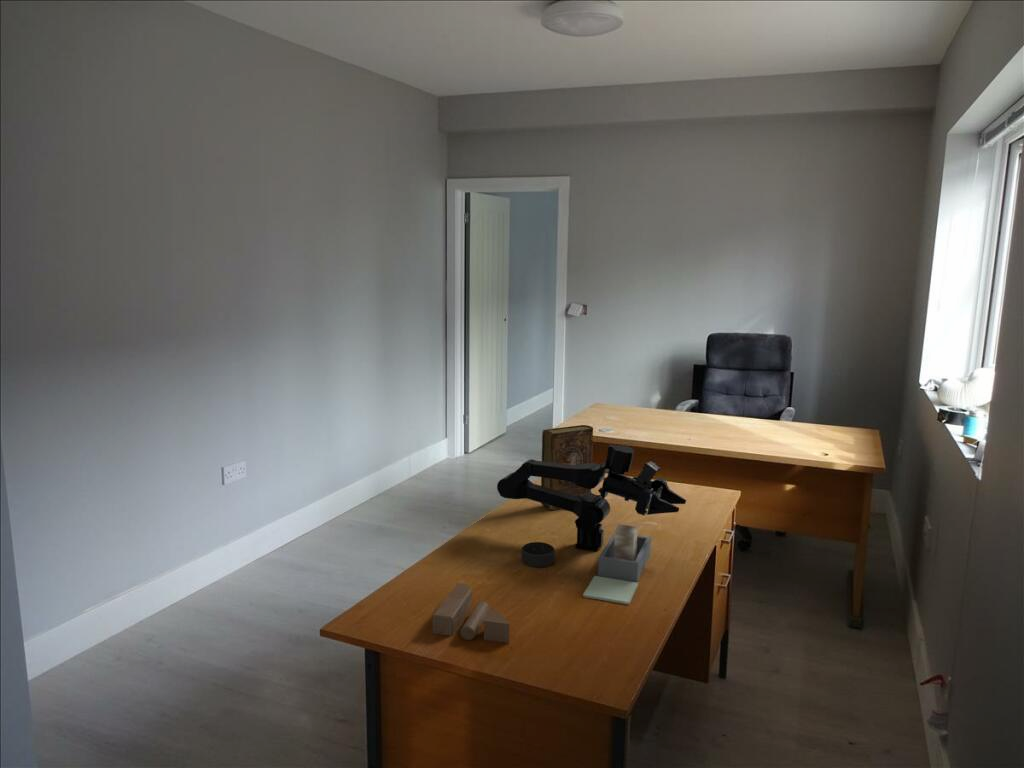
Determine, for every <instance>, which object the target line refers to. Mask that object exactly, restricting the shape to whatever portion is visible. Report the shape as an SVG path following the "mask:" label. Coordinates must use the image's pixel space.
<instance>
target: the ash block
mask: <svg viewBox="0 0 1024 768" xmlns="http://www.w3.org/2000/svg"><path fill="white" fill-rule="evenodd" d="M638 528H639V526H632V525H628V524H618V525H617V526H616V528H615V530H614V532H615V537H614V557H613V558H617V559H623V560H630V561H634V560H635V558H637V556H638V555H637V536H639V535H638V531H639V529H638Z"/></svg>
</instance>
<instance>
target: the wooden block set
mask: <svg viewBox="0 0 1024 768" xmlns="http://www.w3.org/2000/svg"><path fill="white" fill-rule="evenodd" d="M472 591H473V590H472V587H470V586H468V584H466V583H462V582H457V584H456V585H455V587H454V588H453V589H452V590H451V592H450V593H449V595H448V596H447V597H445V598H444V599H443V600H442V602H441V604H440V605H439V606H438V608H437V609H436V611H435V612H434V613H433V615H432V634H435V635H440V636H441V635H444V636H451V637H452V636H454V635H455V633H456V632H457V630H458V628H459V627H460V625H461V624H462V622H463V620H465V617H466V613H467V611H469V609H470V608H471V606H472V604H473V597H472V596H473V593H472ZM482 624H483V640H484V641H491V642H498V643H505V644H510V623H509V622H508V621H507V619H505V617H504V616H503V615H502V614H501V613H500V612H499V611H498V610H497V609H491V610H490V606H489V604H488V603H487V602H486V601H482V600H481V601H479V602H477V603H476V604H475V606H474V608H473V609H472V611H471V613H470V614H469V615H468V617H467V619H466V620H465V622H464V624H463V625H462V627H461V628H460V630H459V631H460V636H461V637H462V639H463V640H466V641H471V640H473V639H475V637H476V635H477V633H478V632H479V630H480V628H481V627H482Z"/></svg>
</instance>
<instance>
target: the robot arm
mask: <svg viewBox="0 0 1024 768" xmlns="http://www.w3.org/2000/svg"><path fill="white" fill-rule="evenodd" d="M634 453H635V450H634V448H632V447H630V446H627V445H614V444H609V446H607V455H606V460H605V462H603V463H602V462H601V463H600V464H599V463H597V462H592V463H586V464H579V465H566V464H558V463H551V462H543V461H542V460H535V459H532V458H531V459H528V460H526V461H524V462H523V463H522V464H521V466H520V467H519V468H517V469H516V470H515V471H514V472H511V473H509V474H507V475H506V476H505V477H503V478H501V479H499V481H498V482H497V485H496V486H497V487H496V488H497V492H498V494H499V496H500V497H502V498H503V499H509V500H525V499H526V500H531V501H534V502H537V503H540V504H541V503H543V504H547V505H550V506H553V507H557V508H560V509H559V510H564V511H567V512H571V513H572V514H574V515H576V516H577V519H575V520H574V524H575V526H576V531H577V532H576V544H575V545H574V548H576V549H581V550H587V551H593V552H598V551H599V549H600V548H601V547H602V546H603V545H604V537H605V536H604V534H605V533H604V529H602V527H603V524H602V522H603V521H604V520H605V518H606V517H607V516H609V514H610V512H611V504H610V503H609V502H608V499H606V497H607V496H608V495H609V494H612V495H614V496H618V497H620V498H623V499H624V501H625V502H629V501H632V502H635V503H636V504H635V508H634V509H635V511H636V513H637V514H638V515H641V516H646V515H647V516H650V515H657V514H670V513H673V514H674V513H678V512H679V511H680V507H678V506H676V505H685V504H686V502H687V499H685V498H684V497H683V496H680V495H679V494H678V493H677V492H674V491H673V490H672V489H670V487H669V485H668V482H667V481H666V479H665V478H662V477H657V478H655V479H653V478H654V476H655V475H656V474H657V473H659V471H660V469H661V467H660V466H658V465H657V462H653V461H649V462H645V463H644V465H643V466H642V467H641V468H642V470H641V471H640V473H639V474H638V476H637V475H634V476H633V477H631V476H627V475H625V474H626V473H628V472H631V471H630V470H631V466H632V462H633V458H634ZM607 472H608V473H607ZM606 473H607V476H606ZM531 477H535V478H536V477H537V478H538V477H539V478H541V477H543V478H551V479H558V480H565V481H570V482H572V483H574V484H575V485H577V486H580V487H583V488H586V489H591V490H593V489H595V488H596V487H597V486H599V484H601V482H602V486H601V487H599V489H598V490H597V491H598V493H599V494H595V493H593V492H592V491H591V492H587V493H586V494H585V495H584V496H583V497H578V496H574V495H571V494H567V493H564V492H561V491H557V490H554V489H550V488H547V487H543V486H541V484H540V485H539V484H536V483H534V482H532V481H531V480H530V479H529V478H531ZM652 479H653V480H652Z"/></svg>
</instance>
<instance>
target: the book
mask: <svg viewBox="0 0 1024 768" xmlns="http://www.w3.org/2000/svg"><path fill="white" fill-rule="evenodd" d="M541 433H542V435H541V436H542V438H541V461H543V462H551V463H558V464H566V465H579V464H586V463H593V443H594V440H593V439H594V427H593V426H591V425H587V424H580V425H571V426H563V427H555V428H546V429H543V430H542V432H541ZM540 479H541V481H540V486H543V487H547V488H550V489H554V490H557V491H561V492H564V493H567V494H571V495H574V496H578V497H583V496H584V495H585V494H586V493H587V492H591V493H592V489H586V488H583V487H580V486H577V485H575V484H574V483H572V482H570V481H565V480H558V479H551V478H543V477H540ZM540 504H541V505H542V506H544V507H545V506H546V507H548V508H549V510H550V511H557V510H561V509H560V508H557V507H553V506H550V505H547V504H543V503H540Z"/></svg>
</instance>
